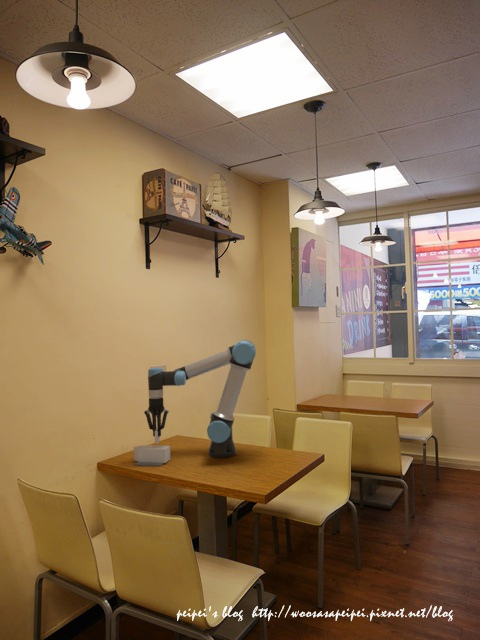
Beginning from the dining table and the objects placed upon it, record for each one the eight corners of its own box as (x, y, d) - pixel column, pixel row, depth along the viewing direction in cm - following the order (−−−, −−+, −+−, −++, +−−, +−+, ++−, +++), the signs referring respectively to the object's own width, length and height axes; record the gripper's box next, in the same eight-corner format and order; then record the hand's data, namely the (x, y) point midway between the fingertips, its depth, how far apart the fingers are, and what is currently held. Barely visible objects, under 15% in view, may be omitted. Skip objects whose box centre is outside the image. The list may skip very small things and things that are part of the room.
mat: (167, 459, 246) (167, 457, 246) (160, 466, 234) (160, 464, 234) (142, 459, 248) (142, 457, 248) (134, 465, 236) (134, 464, 236)
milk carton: (165, 449, 236) (131, 448, 240) (165, 463, 236) (131, 462, 240) (170, 445, 243) (136, 445, 247) (170, 459, 243) (137, 458, 247)
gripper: (170, 396, 244) (171, 440, 243) (146, 396, 246) (147, 440, 245) (165, 398, 236) (167, 444, 236) (141, 398, 238) (142, 444, 238)
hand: (157, 442), depth 241 cm, fingers closed
